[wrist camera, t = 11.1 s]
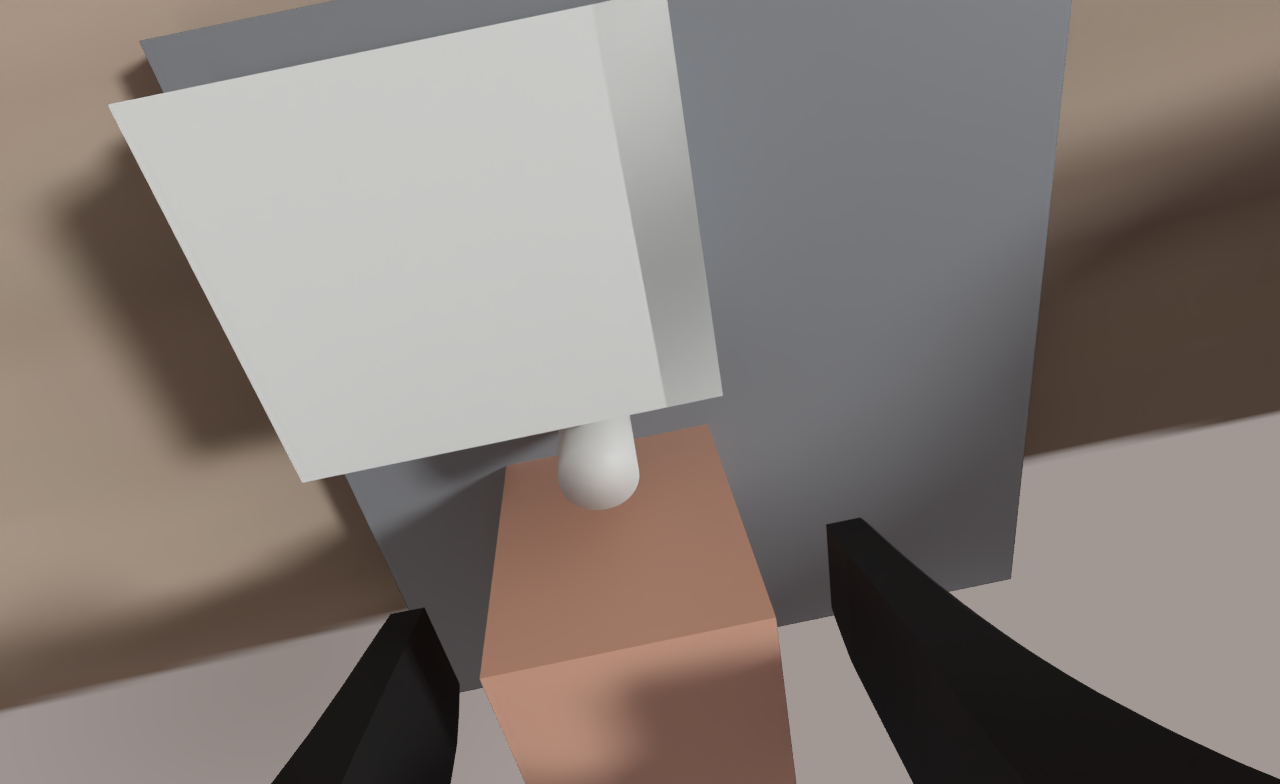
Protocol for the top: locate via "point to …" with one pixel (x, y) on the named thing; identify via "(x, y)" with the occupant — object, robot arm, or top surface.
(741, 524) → the block
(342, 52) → the deck
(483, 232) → the cover
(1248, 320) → the top surface
